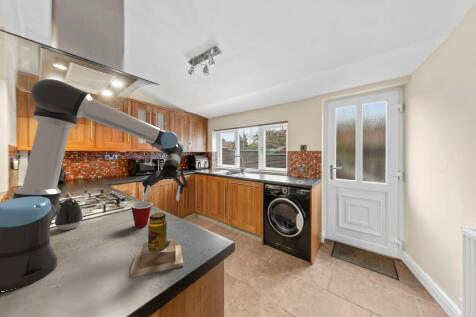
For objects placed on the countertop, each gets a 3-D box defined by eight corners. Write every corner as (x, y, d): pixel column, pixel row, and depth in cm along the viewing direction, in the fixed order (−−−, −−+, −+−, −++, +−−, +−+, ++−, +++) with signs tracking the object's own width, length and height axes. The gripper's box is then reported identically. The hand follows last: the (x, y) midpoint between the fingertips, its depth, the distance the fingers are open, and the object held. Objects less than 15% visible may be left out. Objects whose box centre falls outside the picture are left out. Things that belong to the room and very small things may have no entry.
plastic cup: (136, 231, 85) (136, 207, 85) (125, 226, 91) (126, 204, 91) (156, 224, 94) (157, 203, 94) (145, 220, 100) (146, 200, 100)
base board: (129, 277, 53) (129, 261, 53) (136, 255, 65) (136, 242, 65) (183, 265, 59) (183, 251, 59) (180, 247, 71) (180, 235, 71)
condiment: (143, 254, 57) (143, 218, 57) (151, 241, 65) (152, 210, 65) (166, 252, 58) (166, 217, 58) (171, 240, 67) (172, 210, 67)
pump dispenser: (55, 227, 88) (56, 198, 88) (82, 222, 95) (83, 195, 95) (52, 234, 80) (52, 202, 80) (81, 229, 87) (82, 199, 87)
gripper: (196, 169, 93) (191, 204, 78) (148, 168, 90) (133, 203, 75) (195, 160, 88) (189, 195, 73) (144, 158, 85) (127, 194, 70)
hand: (161, 199), depth 74 cm, fingers open, 13 cm apart
